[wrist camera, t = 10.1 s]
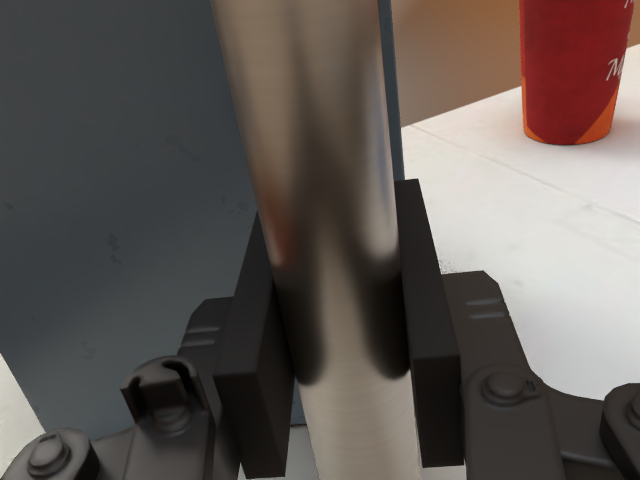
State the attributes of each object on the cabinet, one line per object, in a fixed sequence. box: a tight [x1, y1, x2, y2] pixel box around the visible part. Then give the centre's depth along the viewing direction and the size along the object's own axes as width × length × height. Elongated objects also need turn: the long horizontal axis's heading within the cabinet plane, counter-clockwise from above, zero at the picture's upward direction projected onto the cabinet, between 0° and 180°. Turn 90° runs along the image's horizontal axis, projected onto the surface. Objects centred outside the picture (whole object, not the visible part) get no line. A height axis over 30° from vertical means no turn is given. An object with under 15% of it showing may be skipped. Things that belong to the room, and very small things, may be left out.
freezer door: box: [0, 0, 420, 480], centre depth 15 cm, size 8×15×20 cm, turn 90°
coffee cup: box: [519, 0, 635, 145], centre depth 40 cm, size 8×8×15 cm
